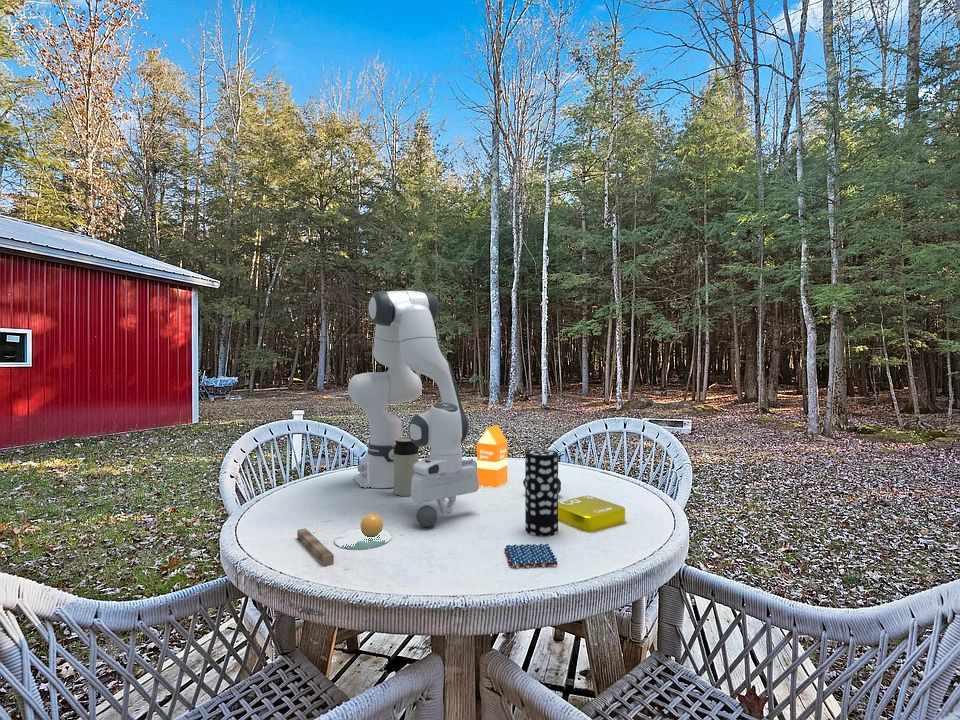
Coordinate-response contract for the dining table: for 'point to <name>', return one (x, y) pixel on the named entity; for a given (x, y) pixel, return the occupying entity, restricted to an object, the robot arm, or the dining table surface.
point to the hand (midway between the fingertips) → (446, 513)
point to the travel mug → (404, 465)
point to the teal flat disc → (365, 544)
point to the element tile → (590, 513)
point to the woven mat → (530, 556)
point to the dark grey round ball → (427, 516)
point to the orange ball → (371, 525)
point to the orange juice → (492, 457)
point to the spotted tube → (541, 492)
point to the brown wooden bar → (315, 547)
